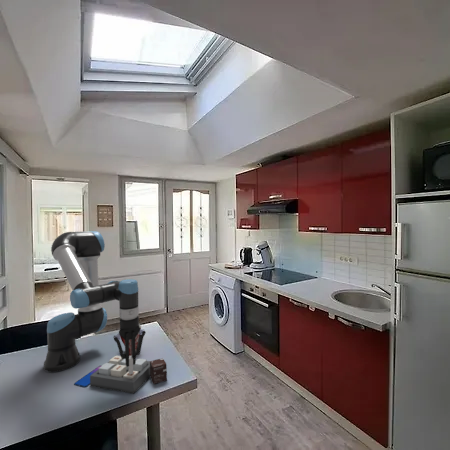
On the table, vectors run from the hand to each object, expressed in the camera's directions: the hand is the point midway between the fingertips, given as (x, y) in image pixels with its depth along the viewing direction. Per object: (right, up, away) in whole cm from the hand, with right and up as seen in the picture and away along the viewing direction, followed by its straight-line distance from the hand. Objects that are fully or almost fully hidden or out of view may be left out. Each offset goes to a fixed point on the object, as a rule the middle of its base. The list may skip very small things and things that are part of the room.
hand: (130, 372), depth 111 cm
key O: (-12, -2, +3) cm, 12 cm away
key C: (0, -3, 0) cm, 3 cm away
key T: (-6, -2, +2) cm, 6 cm away
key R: (-4, -2, +8) cm, 9 cm away
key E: (+2, -2, +6) cm, 7 cm away
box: (+11, -5, +4) cm, 13 cm away
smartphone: (-19, -6, +7) cm, 22 cm away
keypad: (-5, -5, +5) cm, 9 cm away
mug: (-11, -6, +29) cm, 32 cm away
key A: (-10, -2, +9) cm, 14 cm away
